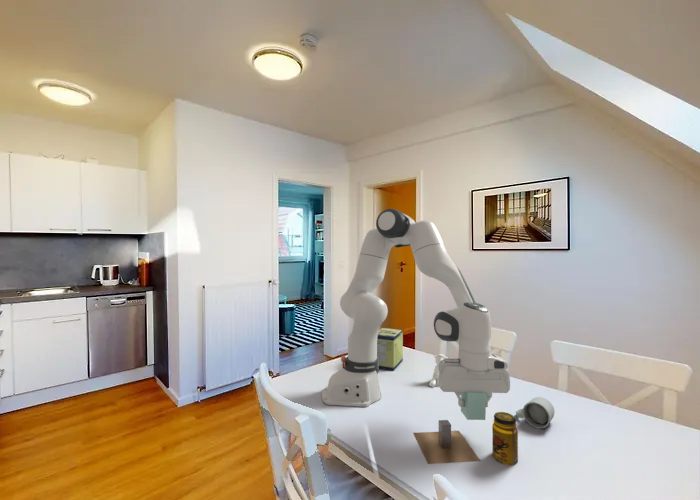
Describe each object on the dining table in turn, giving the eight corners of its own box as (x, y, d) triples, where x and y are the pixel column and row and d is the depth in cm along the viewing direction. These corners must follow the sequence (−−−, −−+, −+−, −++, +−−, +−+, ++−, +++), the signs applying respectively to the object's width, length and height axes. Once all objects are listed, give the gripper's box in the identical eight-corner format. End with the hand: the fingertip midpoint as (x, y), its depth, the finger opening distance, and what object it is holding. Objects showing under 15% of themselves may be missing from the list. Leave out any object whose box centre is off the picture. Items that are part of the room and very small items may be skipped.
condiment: (486, 462, 86) (487, 416, 86) (496, 447, 93) (496, 404, 92) (517, 474, 81) (517, 426, 81) (525, 458, 88) (525, 413, 88)
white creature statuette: (429, 387, 132) (429, 357, 132) (427, 378, 140) (427, 350, 140) (454, 388, 131) (454, 358, 130) (450, 379, 139) (450, 351, 139)
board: (427, 467, 84) (427, 463, 84) (413, 436, 98) (413, 432, 98) (480, 464, 85) (480, 460, 85) (459, 434, 99) (459, 430, 99)
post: (441, 448, 90) (441, 425, 90) (438, 443, 93) (438, 420, 93) (451, 448, 90) (451, 424, 90) (447, 442, 93) (447, 419, 93)
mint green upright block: (467, 419, 94) (468, 393, 94) (460, 410, 99) (461, 385, 99) (485, 420, 94) (486, 393, 94) (477, 411, 99) (478, 385, 99)
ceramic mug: (556, 421, 106) (555, 397, 106) (549, 432, 100) (549, 407, 100) (520, 411, 113) (519, 388, 113) (512, 420, 107) (512, 396, 107)
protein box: (403, 360, 163) (403, 329, 163) (394, 371, 149) (394, 337, 149) (382, 357, 167) (382, 327, 167) (372, 367, 153) (372, 334, 153)
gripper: (442, 361, 93) (440, 410, 93) (513, 363, 94) (512, 412, 94) (436, 354, 100) (434, 400, 100) (502, 356, 100) (501, 401, 100)
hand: (472, 406), depth 97 cm, fingers closed on mint green upright block, 5 cm apart
